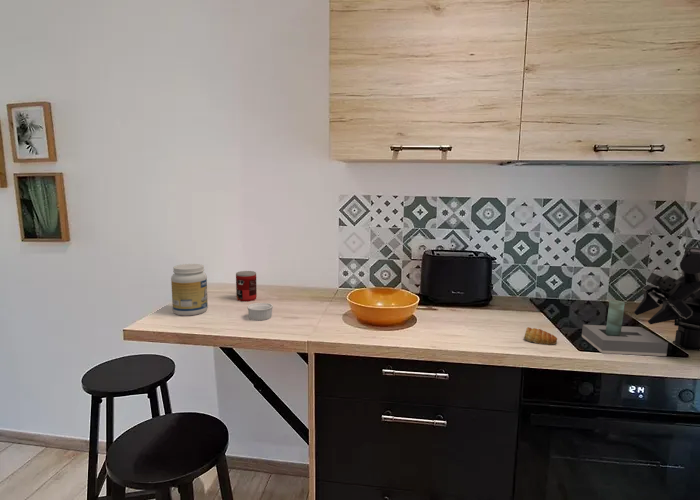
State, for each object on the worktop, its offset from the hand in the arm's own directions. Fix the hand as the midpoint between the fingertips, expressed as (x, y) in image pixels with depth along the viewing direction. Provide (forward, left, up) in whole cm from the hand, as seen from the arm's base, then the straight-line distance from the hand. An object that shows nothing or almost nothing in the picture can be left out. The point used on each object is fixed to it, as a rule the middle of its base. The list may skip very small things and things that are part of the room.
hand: (641, 318), depth 136 cm
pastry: (+29, -2, -10) cm, 31 cm away
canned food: (+134, -35, -9) cm, 138 cm away
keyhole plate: (+5, -1, -9) cm, 10 cm away
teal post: (+7, -1, -8) cm, 11 cm away
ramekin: (+122, -13, -10) cm, 123 cm away
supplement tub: (+149, -16, -9) cm, 150 cm away
